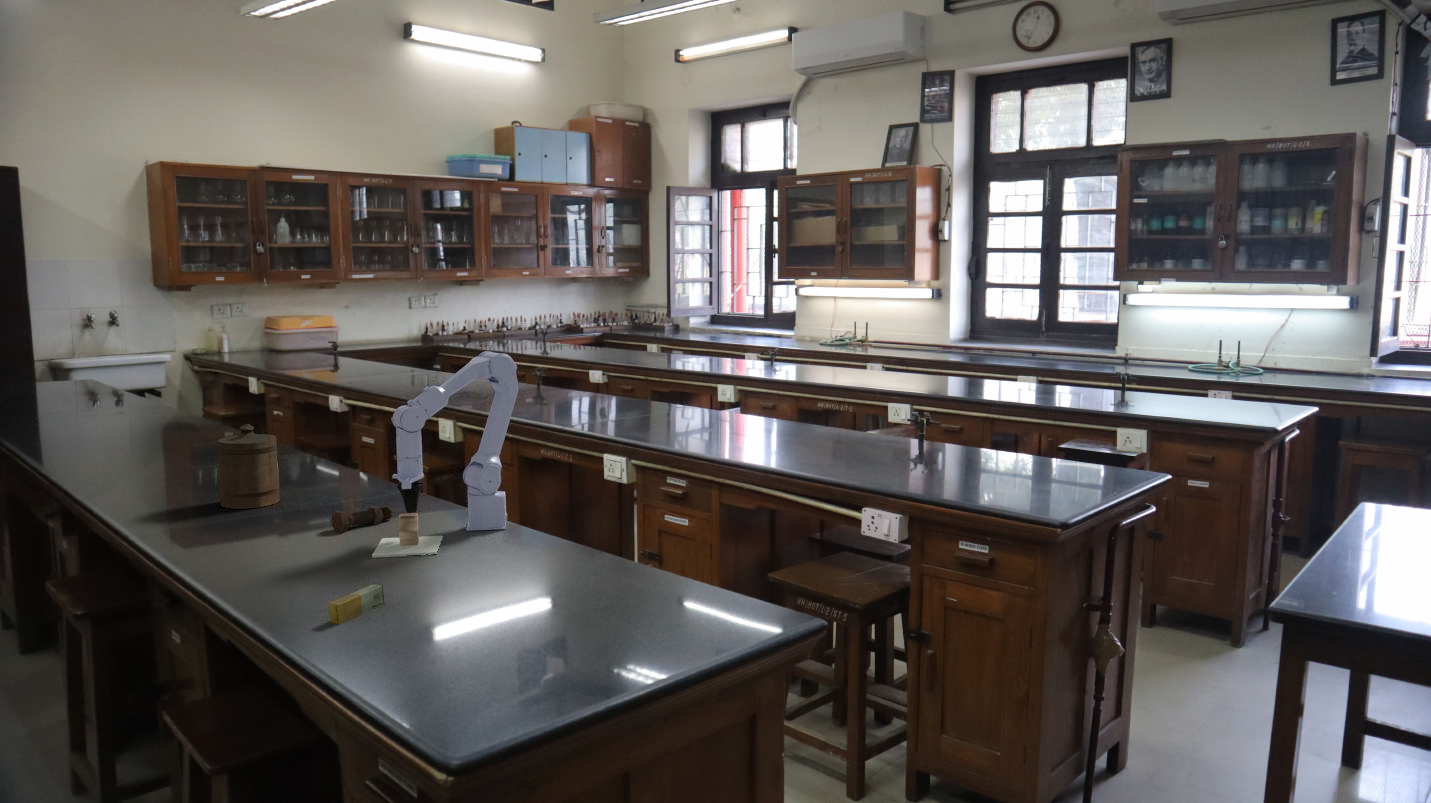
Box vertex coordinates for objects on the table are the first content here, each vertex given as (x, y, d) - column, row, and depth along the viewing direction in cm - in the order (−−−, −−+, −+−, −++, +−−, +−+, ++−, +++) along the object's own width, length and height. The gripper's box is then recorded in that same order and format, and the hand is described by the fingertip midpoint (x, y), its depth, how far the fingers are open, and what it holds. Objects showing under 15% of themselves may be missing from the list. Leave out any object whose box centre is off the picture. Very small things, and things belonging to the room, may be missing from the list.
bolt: (391, 527, 250) (338, 537, 238) (381, 514, 253) (328, 524, 241) (398, 509, 248) (345, 519, 236) (388, 497, 250) (334, 506, 238)
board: (442, 537, 233) (442, 535, 233) (436, 554, 219) (436, 552, 219) (382, 540, 231) (382, 538, 231) (372, 557, 217) (371, 555, 217)
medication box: (374, 602, 189) (373, 582, 188) (385, 604, 188) (384, 584, 187) (328, 623, 178) (327, 602, 177) (340, 625, 177) (338, 604, 176)
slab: (419, 541, 228) (417, 512, 227) (417, 544, 225) (416, 515, 224) (401, 542, 227) (400, 513, 226) (399, 545, 224) (398, 516, 223)
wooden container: (290, 497, 274) (286, 420, 271) (261, 510, 259) (256, 429, 256) (241, 496, 276) (236, 419, 273) (209, 508, 261) (203, 428, 258)
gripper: (396, 451, 236) (398, 505, 238) (387, 462, 222) (389, 520, 224) (426, 450, 237) (428, 504, 239) (419, 461, 223) (421, 519, 225)
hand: (411, 512), depth 231 cm, fingers closed
